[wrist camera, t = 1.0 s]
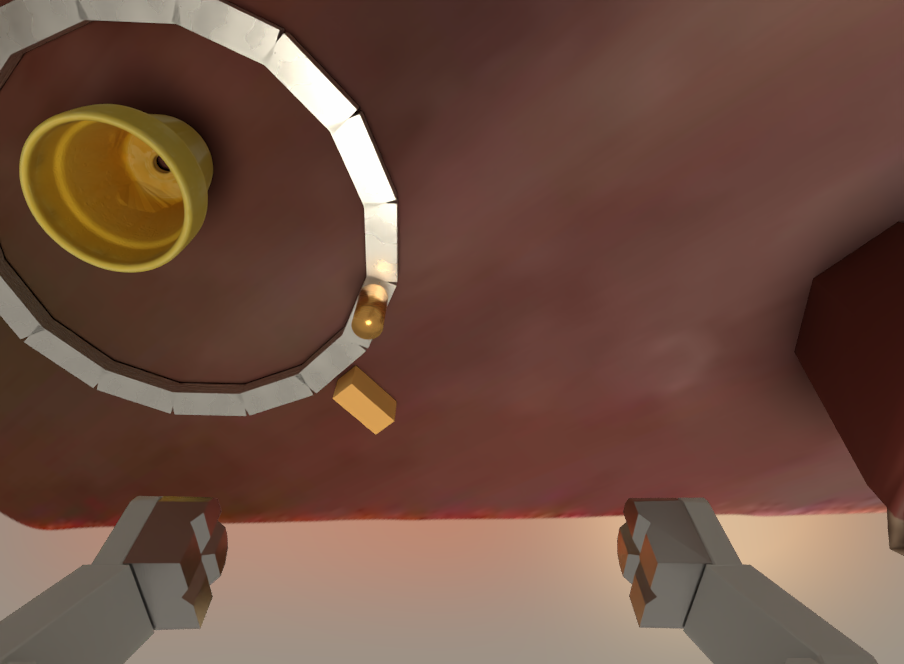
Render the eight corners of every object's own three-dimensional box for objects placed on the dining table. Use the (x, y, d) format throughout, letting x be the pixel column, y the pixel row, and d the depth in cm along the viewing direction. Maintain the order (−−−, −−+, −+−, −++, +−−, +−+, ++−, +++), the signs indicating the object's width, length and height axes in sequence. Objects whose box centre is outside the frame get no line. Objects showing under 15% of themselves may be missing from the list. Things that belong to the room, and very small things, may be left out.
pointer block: (337, 379, 55) (332, 398, 52) (355, 365, 54) (351, 383, 52) (378, 414, 57) (375, 434, 54) (396, 401, 56) (394, 421, 54)
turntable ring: (-140, -34, 38) (-241, -41, 33) (396, -10, 39) (389, -12, 34) (28, 401, 55) (-19, 446, 50) (399, 409, 56) (394, 455, 51)
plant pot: (157, 245, 48) (95, 297, 40) (68, 125, 43) (-23, 155, 35) (264, 194, 46) (224, 237, 38) (183, 63, 42) (117, 79, 33)
